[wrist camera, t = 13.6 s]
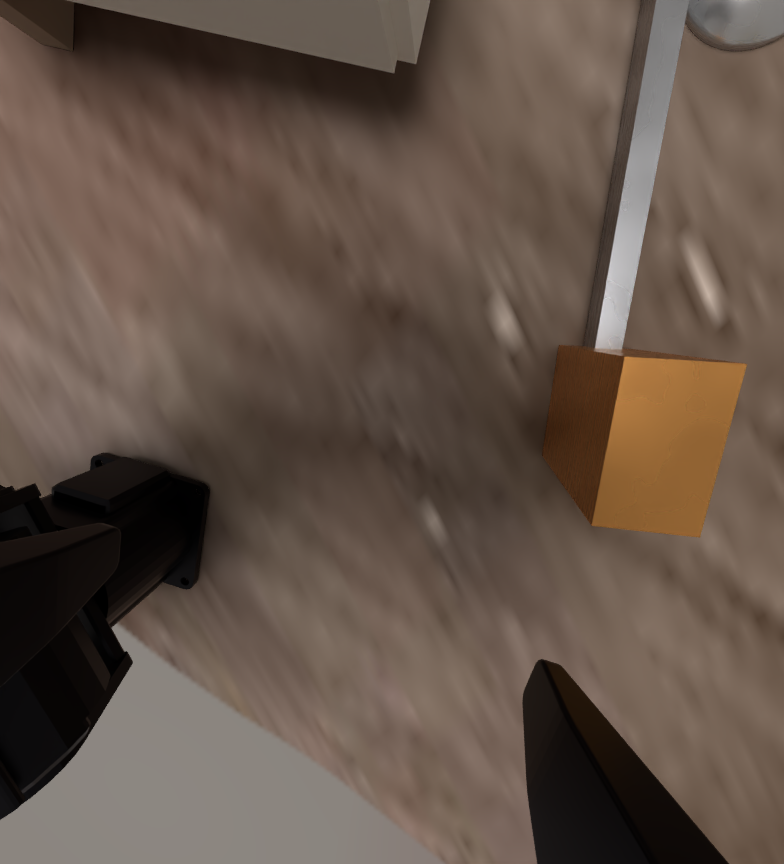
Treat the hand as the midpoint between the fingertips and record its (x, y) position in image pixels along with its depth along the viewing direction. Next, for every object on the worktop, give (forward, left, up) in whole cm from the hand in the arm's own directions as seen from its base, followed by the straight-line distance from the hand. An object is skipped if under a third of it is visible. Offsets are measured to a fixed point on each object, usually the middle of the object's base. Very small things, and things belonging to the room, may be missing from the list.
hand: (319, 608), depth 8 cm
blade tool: (+12, -6, -12) cm, 18 cm away
